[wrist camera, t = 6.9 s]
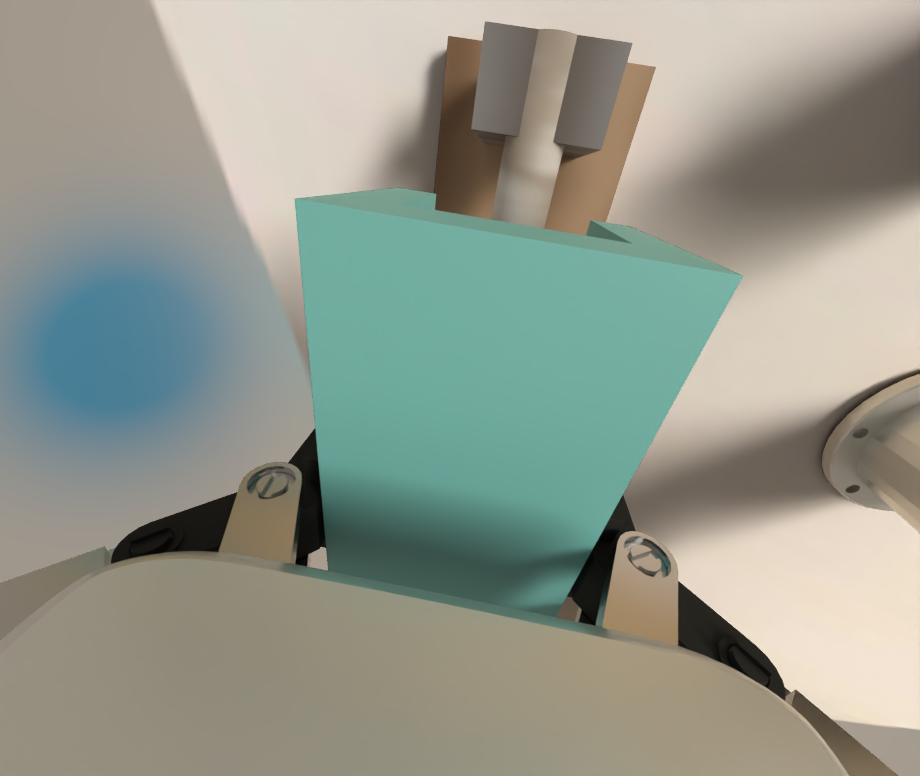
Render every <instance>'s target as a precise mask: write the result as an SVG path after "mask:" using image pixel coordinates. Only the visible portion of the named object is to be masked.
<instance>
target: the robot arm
mask: <svg viewBox="0 0 920 776" xmlns="http://www.w3.org/2000/svg"><path fill="white" fill-rule="evenodd" d="M822 467H823V471H824V475H825V476H826V478H827V479H828V481H829V482H830V484H831V485H832V486H833V487H834V488H835V489H836V490H837V491H838V492H839V493H840V494H841V495H843V496H844V497H846V498H847V499H849V500H851V501H852V502H854V503H857V504H859V505H862V506H865V507H868V508H873V509H878V510H885V511H895V512H896V513H897V514H899V515H900V516H901V517H902V518H903V519H904V520H905V521H907V522H908V523H909V524H910V525H911V526H912V527H913V528H914V529H916V530H917V531H918V532H919V533H920V374H918V375H915V376H912V377H909V378H906V379H904V380H902V381H900V382H898V383H895V384H893V385H891V386H889V387H887V388H885V389H883V390H881V391H880V392H878V393H876V394H875V395H873V396H872V397H870V398H868V399H867V400H865V401H864V402H862V403H861V404H860V405H859V406H857V407H856V408H855V409H854V410H852V411H851V412H850V413H849V414H848V415H847V416H846V417H845V418H844V419H843V420H842V421H841V422H840V423H839V424H838V425H837V426H836V428H835V430H834V431H833V433H832V434H831V436H830V437H829V439H828V440H827V443H826V446H825V448H824V451H823V457H822ZM320 547H325V548H326V540H325V529H324V518H323V507H322V496H321V485H320V474H319V463H318V452H317V440H316V429H314V430H313V432H312V433H311V434H310V436H309V437H308V438H307V439H306V441H305V442H304V443H303V444H302V446H301V447H300V448H299V450H298V451H297V452H296V453H295V455H294V456H293V457H292V459H291V460H290V461H289V462H288V463H285V462H274V463H269V464H265V465H262V466H259V467H257V468H255V469H254V470H252V471H250V472H249V473H248V474H247V475H246V476H245V477H244V478H243V480H242V482H241V484H240V486H239V490H238V492H236V493H234V494H231V495H228V496H225V497H222V498H219V499H217V500H213V501H211V502H208V503H205V504H202V505H199V506H196V507H194V508H191V509H188V510H185V511H182V512H179V513H176V514H174V515H171V516H168V517H165V518H162V519H159V520H156V521H153V522H150V523H148V524H146V525H144V526H141V527H139V528H138V529H136V530H135V531H133V532H132V533H130V534H128V535H127V536H126V537H125V538H124V539H123V540H122V541H121V542H120V543H119V544H118V545H117V547H116V548H114V549H111V550H108V551H107V550H106V548H105V547H101V548H99V549H96V550H93V551H90V552H87V553H85V554H82V555H79V556H76V557H73V558H70V559H67V560H65V561H62V562H59V563H56V564H53V565H50V566H48V567H45V568H42V569H39V570H36V571H33V572H31V573H28V574H25V575H22V576H19V577H16V578H13V579H10V580H8V581H5V582H2V583H0V776H898V775H897V774H896V773H895V772H893V771H892V770H891V769H890V768H889V767H887V766H886V765H885V764H884V763H883V762H881V761H880V760H879V759H878V758H877V757H876V756H874V755H873V754H872V753H871V752H870V751H868V750H867V749H866V748H865V747H864V746H862V745H861V744H860V743H859V742H858V741H856V740H855V739H854V738H853V737H852V736H851V735H849V734H848V733H847V732H846V731H844V730H843V729H842V728H841V727H840V726H838V725H837V724H836V723H835V722H834V721H833V720H831V719H830V718H829V717H828V716H827V715H826V714H824V713H823V712H822V711H821V710H820V709H818V708H817V707H816V706H815V705H814V704H812V703H811V702H810V701H809V700H808V699H806V698H805V697H804V696H803V695H802V694H801V693H799V692H798V691H797V690H794V691H793V692H790V691H788V690H787V689H786V688H785V687H784V684H783V681H782V679H781V677H780V675H779V673H778V671H777V669H776V668H775V666H774V665H773V664H772V662H771V661H770V660H769V659H768V657H767V656H766V655H765V654H764V653H763V652H762V651H761V650H760V649H759V648H758V647H757V646H756V645H755V644H753V643H752V642H751V641H750V640H749V639H747V638H746V637H745V636H744V635H743V634H741V633H740V632H739V631H738V630H737V629H735V628H734V627H733V626H732V625H731V624H729V623H728V622H727V621H726V620H725V619H723V618H722V617H721V616H720V615H719V614H717V613H716V612H715V611H714V610H713V609H711V608H710V607H709V606H708V605H707V604H705V603H704V602H703V601H702V600H701V599H699V598H698V597H697V596H696V595H695V594H693V593H692V592H691V591H690V590H689V589H687V588H686V587H685V586H684V585H683V584H681V583H680V582H679V581H678V568H677V563H676V561H675V559H674V557H673V555H672V554H671V553H670V552H669V551H668V549H667V548H666V547H665V546H664V545H663V544H661V543H660V542H659V541H658V540H656V539H655V538H653V537H651V536H649V535H647V534H644V533H641V532H636V531H635V528H634V525H633V522H632V519H631V517H630V514H629V511H628V508H627V505H626V502H625V499H624V497H623V495H622V497H621V499H620V501H619V502H618V504H617V506H616V508H615V510H614V511H613V513H612V515H611V517H610V519H609V521H608V522H607V524H606V526H605V528H604V530H603V531H602V533H601V535H600V537H599V539H598V541H597V542H596V544H595V546H594V548H593V550H592V551H591V553H590V555H589V557H588V559H587V561H586V562H585V564H584V566H583V568H582V570H581V571H580V573H579V575H578V577H577V579H576V581H575V582H574V584H573V586H572V588H571V590H570V591H569V593H568V595H567V597H571V598H572V599H573V601H574V602H575V603H576V604H577V605H578V606H579V607H578V611H577V615H576V619H575V621H570V620H565V619H561V618H556V617H551V616H546V615H542V614H537V613H532V612H527V611H523V610H518V609H513V608H508V607H504V606H499V605H494V604H489V603H484V602H479V601H475V600H470V599H465V598H460V597H455V596H450V595H445V594H440V593H436V592H431V591H426V590H421V589H416V588H411V587H406V586H401V585H396V584H391V583H386V582H381V581H376V580H371V579H366V578H361V577H356V576H351V575H346V574H341V573H336V572H331V571H326V570H321V569H316V568H311V567H310V560H311V553H312V552H314V551H316V550H318V549H320Z"/></svg>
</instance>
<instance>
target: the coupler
mask: <svg viewBox="0 0 920 776" xmlns="http://www.w3.org/2000/svg"><path fill="white" fill-rule="evenodd" d="M435 203H436V194H434V193H428V192H422V191H416V190H410V189H405V188H399V187H398V188H389V189H380V190H370V191H361V192H352V193H343V194H333V195H324V196H315V197H306V198H296V199H295V208H296V219H297V230H298V241H299V252H300V263H301V274H302V285H303V297H304V308H305V319H306V330H307V341H308V352H309V363H310V374H311V385H312V396H313V406H314V418H315V429H316V440H317V452H318V463H319V474H320V485H321V496H322V507H323V518H324V529H325V540H326V551H327V562H328V571H331V572H336V573H341V574H346V575H351V576H356V577H361V578H366V579H371V580H376V581H381V582H386V583H391V584H396V585H401V586H406V587H411V588H416V589H421V590H426V591H431V592H436V593H440V594H445V595H450V596H455V597H460V598H465V599H470V600H475V601H479V602H484V603H489V604H494V605H499V606H504V607H508V608H513V609H518V610H523V611H527V612H532V613H537V614H542V615H546V616H551V617H556V615H557V613H558V611H559V610H560V608H561V606H562V604H563V602H564V601H565V599H566V597H567V595H568V593H569V591H570V590H571V588H572V586H573V584H574V582H575V581H576V579H577V577H578V575H579V573H580V571H581V570H582V568H583V566H584V564H585V562H586V561H587V559H588V557H589V555H590V553H591V551H592V550H593V548H594V546H595V544H596V542H597V541H598V539H599V537H600V535H601V533H602V531H603V530H604V528H605V526H606V524H607V522H608V521H609V519H610V517H611V515H612V513H613V511H614V510H615V508H616V506H617V504H618V502H619V501H620V499H621V497H622V495H623V493H624V491H625V490H626V488H627V486H628V484H629V482H630V481H631V479H632V477H633V475H634V473H635V471H636V470H637V468H638V466H639V464H640V462H641V461H642V459H643V457H644V455H645V453H646V451H647V450H648V448H649V446H650V444H651V442H652V441H653V439H654V437H655V435H656V433H657V431H658V430H659V428H660V426H661V424H662V422H663V421H664V419H665V417H666V415H667V413H668V411H669V410H670V408H671V406H672V404H673V402H674V401H675V399H676V397H677V395H678V393H679V391H680V390H681V388H682V386H683V384H684V382H685V381H686V379H687V377H688V375H689V373H690V371H691V370H692V368H693V366H694V364H695V362H696V361H697V359H698V357H699V355H700V353H701V351H702V350H703V348H704V346H705V344H706V342H707V341H708V339H709V337H710V335H711V333H712V331H713V330H714V328H715V326H716V324H717V322H718V321H719V319H720V317H721V315H722V313H723V311H724V310H725V308H726V306H727V304H728V302H729V301H730V299H731V297H732V295H733V293H734V291H735V290H736V288H737V286H738V284H739V282H740V281H741V279H742V277H743V276H742V275H740V274H738V273H735V272H733V271H731V270H729V269H726V268H724V267H722V266H719V265H717V264H715V263H712V262H710V261H708V260H705V259H703V258H701V257H699V256H696V255H694V254H692V253H689V252H687V251H685V250H682V249H680V248H678V247H675V246H673V245H671V244H669V243H666V242H664V241H662V240H659V239H657V238H655V237H652V236H650V235H648V234H646V233H643V232H641V231H639V230H636V229H634V228H632V227H629V226H623V225H617V224H611V223H605V222H599V221H594V220H590V223H589V226H588V230H587V233H586V236H584V235H578V234H573V233H567V232H561V231H555V230H549V229H543V228H537V227H532V226H526V225H520V224H514V223H508V222H502V221H497V220H491V219H485V218H479V217H473V216H467V215H461V214H456V213H450V212H444V211H438V210H435Z"/></svg>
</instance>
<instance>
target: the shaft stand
mask: <svg viewBox="0 0 920 776" xmlns="http://www.w3.org/2000/svg"><path fill="white" fill-rule="evenodd" d="M631 46H632V43H628V42H621V41H614V40H608V39H601V38H594V37H587V36H581V35H576V34H573V33H570V32H566V31H561V30H554V29H533V28H526V27H520V26H513V25H506V24H499V23H492V22H486V21H485V26H484V34H483V41H479V40H472V39H465V38H459V37H452V36H448V44H447V55H446V66H445V77H444V88H443V99H442V110H441V121H440V132H439V143H438V154H437V164H436V175H435V186H434V194H436V203H435V210H438V211H444V212H450V213H456V214H461V215H467V216H473V217H479V218H485V219H491V220H497V221H502V222H508V223H514V224H520V225H526V226H532V227H537V228H543V229H549V230H555V231H561V232H567V233H573V234H578V235H584V236H586V233H587V230H588V226H589V223H590V220H594V221H599V222H606V219H607V216H608V213H609V210H610V207H611V204H612V201H613V198H614V195H615V191H616V188H617V185H618V182H619V179H620V176H621V173H622V170H623V167H624V164H625V161H626V158H627V154H628V151H629V148H630V145H631V142H632V139H633V136H634V133H635V130H636V127H637V124H638V121H639V117H640V114H641V111H642V108H643V105H644V102H645V99H646V96H647V93H648V90H649V87H650V84H651V80H652V77H653V74H654V71H655V68H656V67H652V66H645V65H638V64H632V63H627V60H628V57H629V53H630V50H631Z"/></svg>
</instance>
